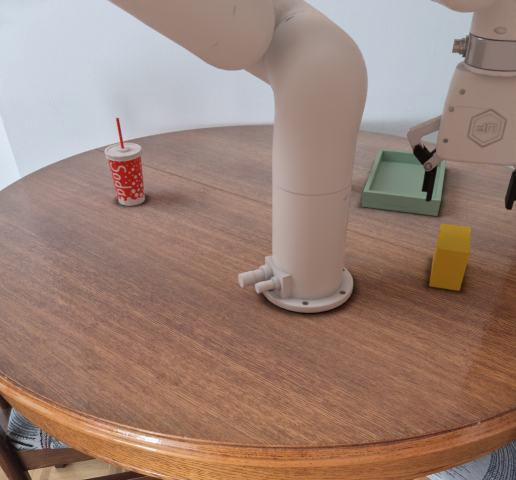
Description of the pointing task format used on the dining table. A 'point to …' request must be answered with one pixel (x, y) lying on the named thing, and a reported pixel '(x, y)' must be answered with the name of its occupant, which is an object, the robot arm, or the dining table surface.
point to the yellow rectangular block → (450, 257)
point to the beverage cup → (126, 170)
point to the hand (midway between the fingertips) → (467, 201)
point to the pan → (401, 184)
